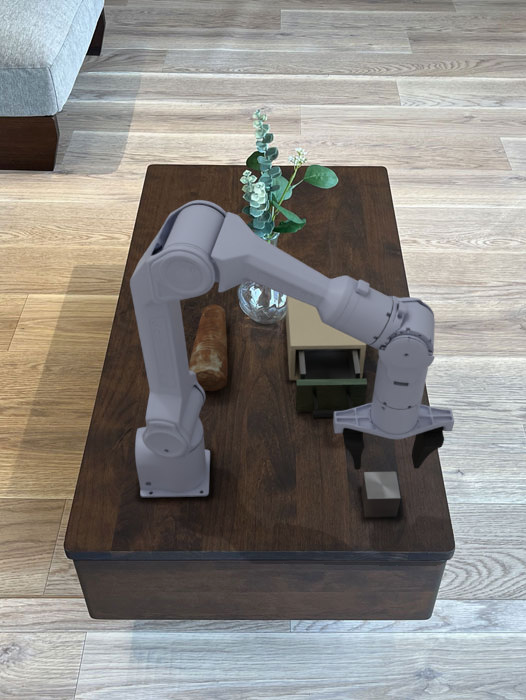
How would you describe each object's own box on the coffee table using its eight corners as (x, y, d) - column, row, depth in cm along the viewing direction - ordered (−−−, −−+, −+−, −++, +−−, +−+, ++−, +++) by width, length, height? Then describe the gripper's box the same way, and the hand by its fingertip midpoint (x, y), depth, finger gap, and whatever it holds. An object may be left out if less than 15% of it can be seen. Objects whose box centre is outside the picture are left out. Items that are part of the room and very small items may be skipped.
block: (364, 517, 108) (367, 498, 105) (361, 491, 111) (363, 471, 108) (396, 517, 108) (400, 498, 105) (392, 490, 112) (396, 471, 108)
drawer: (367, 435, 118) (371, 409, 113) (297, 436, 117) (298, 410, 113) (355, 352, 130) (358, 326, 126) (291, 353, 130) (292, 327, 126)
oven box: (362, 379, 127) (366, 344, 122) (289, 380, 127) (290, 346, 121) (353, 322, 137) (357, 287, 131) (286, 323, 136) (286, 288, 131)
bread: (186, 398, 124) (183, 373, 120) (200, 316, 138) (198, 292, 134) (226, 399, 124) (225, 374, 120) (236, 318, 137) (235, 293, 133)
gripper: (452, 366, 97) (436, 437, 107) (334, 368, 97) (327, 439, 106) (464, 410, 92) (445, 480, 101) (339, 412, 92) (332, 482, 101)
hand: (385, 462), depth 104 cm, fingers open, 7 cm apart
